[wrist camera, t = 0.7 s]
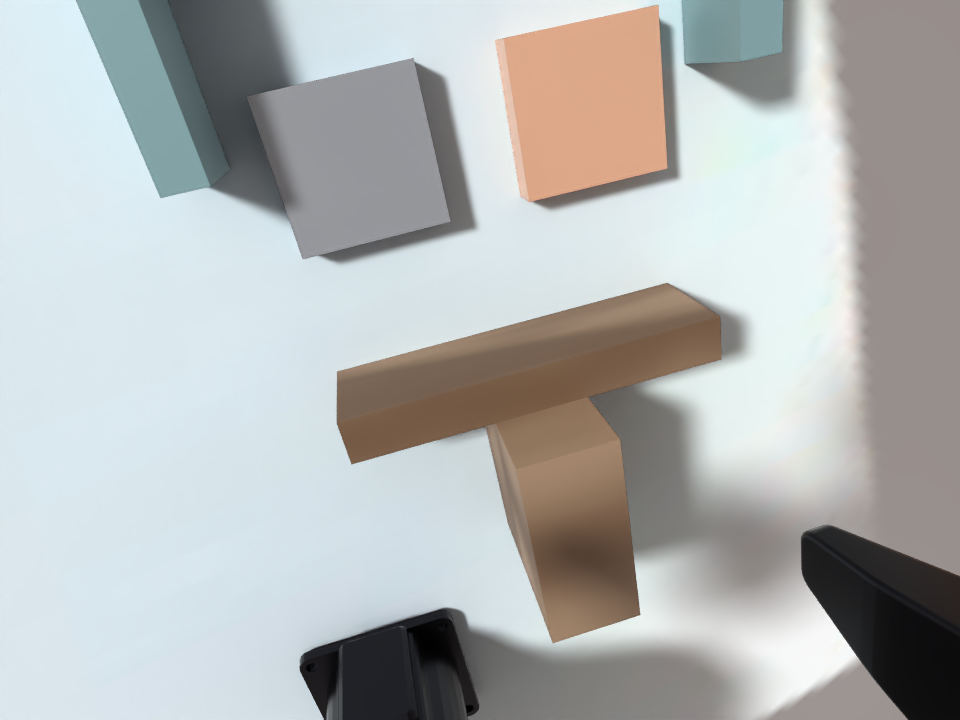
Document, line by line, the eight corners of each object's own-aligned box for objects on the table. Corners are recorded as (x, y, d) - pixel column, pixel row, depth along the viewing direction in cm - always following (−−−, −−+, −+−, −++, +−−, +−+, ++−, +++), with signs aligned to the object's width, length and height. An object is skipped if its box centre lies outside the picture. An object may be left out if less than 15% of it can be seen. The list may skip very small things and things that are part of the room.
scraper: (679, 471, 26) (766, 574, 21) (400, 555, 25) (416, 687, 19) (667, 282, 22) (770, 348, 17) (337, 371, 21) (335, 472, 16)
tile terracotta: (646, 162, 21) (667, 168, 19) (516, 193, 20) (529, 202, 19) (635, 9, 19) (658, 5, 17) (491, 41, 18) (503, 38, 17)
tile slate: (443, 211, 20) (450, 221, 19) (305, 246, 19) (302, 259, 18) (408, 59, 18) (413, 58, 17) (254, 95, 18) (246, 96, 16)
